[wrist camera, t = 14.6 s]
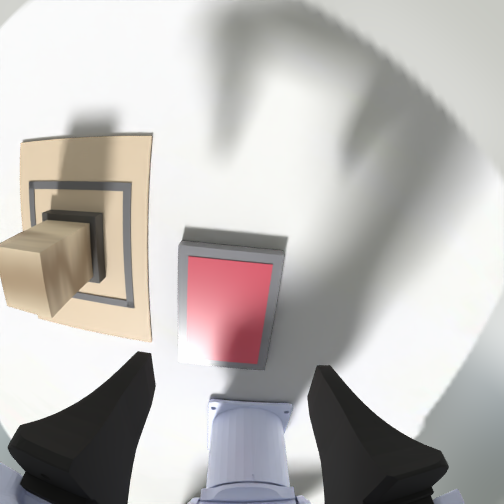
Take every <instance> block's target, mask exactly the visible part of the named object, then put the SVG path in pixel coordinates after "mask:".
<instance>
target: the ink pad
mask: <svg viewBox="0 0 504 504" xmlns="http://www.w3.org/2000/svg"><path fill="white" fill-rule="evenodd" d="M284 257H285V255H284V252H283V250H273V249H263V248H253V247H243V246H233V245H222V244H212V243H202V242H192V241H181V242H180V244H179V248H178V349H179V362H183V363H191V364H199V365H208V366H217V367H228V368H240V369H254V370H265V366H266V361H267V355H268V350H269V345H270V339H271V334H272V328H273V322H274V317H275V311H276V305H277V300H278V294H279V288H280V282H281V276H282V269H283V263H284Z"/></svg>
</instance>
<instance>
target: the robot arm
mask: <svg viewBox="0 0 504 504" xmlns="http://www.w3.org/2000/svg"><path fill="white" fill-rule="evenodd" d="M155 387H156V385H155V378H154V371H153V364H152V356H151V353H145V352H139V351H138V352H137V353H136V354H135V355H133V356H132V357H131V358H130V359H129V360H128V361H127V362H126V363H125V364H124V365H123V366H122V367H121V368H120V369H119V370H118V371H117V372H116V373H115V374H114V375H113V376H111V377H110V378H109V379H108V380H107V381H106V382H105V383H103V384H102V385H101V386H100V387H98V388H97V389H96V390H95V391H93V392H92V393H91V394H89V395H88V396H86V397H85V398H83V399H82V400H80V401H79V402H77V403H75V404H74V405H72V406H70V407H68V408H66V409H64V410H62V411H60V412H58V413H56V414H53V415H51V416H48V417H46V418H43V419H40V420H37V421H34V422H30V423H27V424H23V425H20V426H19V428H18V429H17V431H16V433H15V434H14V436H13V438H12V440H11V441H10V443H9V445H8V450H9V452H10V454H11V455H12V457H13V458H14V459H15V460H16V461H17V463H18V464H19V465H20V466H21V467H22V468H23V469H24V470H25V474H24V476H22V475H21V474H19V473H18V472H16V471H14V470H13V469H11V468H10V467H8V466H6V465H4V464H3V463H1V462H0V504H127V503H128V494H129V486H130V479H131V473H132V467H133V462H134V457H135V453H136V448H137V445H138V442H139V439H140V436H141V433H142V430H143V428H144V425H145V422H146V419H147V416H148V414H149V411H150V408H151V405H152V401H153V396H154V391H155ZM307 397H308V407H309V415H310V420H311V424H312V428H313V431H314V435H315V439H316V443H317V447H318V451H319V455H320V460H321V466H322V475H323V485H324V498H325V504H465V503H464V500H463V498H462V496H461V494H460V492H459V489H455V490H452V491H450V492H448V493H446V494H444V495H441V496H439V497H437V498H435V499H434V500H432V498H431V495H432V494H433V493H434V491H433V489H432V486H433V485H434V484H435V483H436V482H437V481H438V480H440V479H441V478H442V477H443V476H444V474H445V473H446V472H447V470H448V468H449V466H448V464H447V462H446V460H445V458H444V456H443V454H442V452H441V451H440V450H437V449H434V448H432V447H429V446H427V445H424V444H422V443H420V442H418V441H416V440H414V439H412V438H410V437H408V436H406V435H404V434H403V433H401V432H399V431H398V430H396V429H395V428H393V427H392V426H390V425H389V424H387V423H386V422H385V421H384V420H382V419H381V418H380V417H378V416H377V415H376V414H375V413H374V412H373V411H371V410H370V409H369V408H368V407H367V406H366V405H365V404H364V403H363V402H362V401H361V400H360V399H359V398H358V397H357V396H356V395H355V394H354V393H353V392H352V390H351V389H350V388H349V387H348V386H347V385H346V384H345V382H344V381H343V380H342V379H341V378H340V377H339V375H338V374H337V373H336V372H335V371H334V369H333V368H332V367H331V366H330V365H319V366H317V367H316V370H315V374H314V377H313V380H312V384H311V387H310V390H309V393H308V396H307ZM292 409H293V406H292V404H290V403H262V402H244V401H230V400H219V399H211V400H209V403H208V450H209V461H208V472H207V484H206V488H202V489H201V497H200V498H196V497H194V498H192V499H191V501H190V502H188V503H187V504H311V503H310V501H309V500H307V499H306V498H305V497H304V496H302V495H300V496H295V493H294V487H290V480H289V472H288V464H287V456H286V447H285V439H284V433H285V430H286V427H287V424H288V421H289V418H290V415H291V412H292Z"/></svg>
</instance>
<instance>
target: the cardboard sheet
mask: <svg viewBox="0 0 504 504" xmlns="http://www.w3.org/2000/svg"><path fill="white" fill-rule="evenodd" d="M151 145H152V136H100V137H79V138H64V139H52V140H42V141H32V142H24V143H21V147H20V199H21V215H22V227H23V231H25V230H27V229H29V228H31V227H33V226H35V225H37V224H39V223H41V222H42V213H43V212H45V211H48V210H50V209H52V210H69V211H84V212H99V213H103V238H104V257H105V271H106V277H105V279H104V280H103V281H102V282H101V283H100V284H99V283H93V282H87V283H86V284H85V285H84V286H83V287H82V288H81V289H80V290H79V291H78V292H77V293H76V294H75V295H74V296H73V297H72V298H71V299H70V300H69V301H68V302H67V303H66V304H65V305H64V306H63V307H62V308H61V309H60V310H59V311H58V312H57V313H56V315H55V316H54V317H53V318H48V317H44V316H40V315H38V318H39V319H43V320H47V321H50V322H54V323H58V324H62V325H66V326H70V327H74V328H79V329H83V330H88V331H92V332H97V333H102V334H107V335H112V336H117V337H122V338H127V339H133V340H139V341H145V342H152V337H151V325H150V310H149V290H148V249H147V233H148V192H149V173H150V158H151Z"/></svg>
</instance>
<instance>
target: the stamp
mask: <svg viewBox="0 0 504 504" xmlns="http://www.w3.org/2000/svg"><path fill="white" fill-rule="evenodd" d="M0 277H1V281H2V286H3V290H4V294H5V298H6V302H7V306H9V307H13V308H16V309H19V310H23V311H26V312H29V313H33V314H37V315H40V316H44V317H48V318H53V317H54V316H55V315H56V313H57V312H58V311H59V310H60V309H61V308H62V307H63V306H64V305H65V304H66V303H67V302H68V301H69V300H70V299H71V298H72V297H73V296H74V295H75V294H76V293H77V292H78V291H79V290H80V289H81V288H82V287H83V286H84V285H85V284H86V283H87V282H93V283H99V284H100V283H101V282H102V281H103V280H104V279H105V277H106V271H105V257H104V238H103V213H99V212H84V211H69V210H52V209H50V210H48V211H45V212H43V213H42V222H41V223H39V224H37V225H35V226H33V227H31V228H29V229H27V230H25V231H23V232H21V233H19V234H17V235H15V236H13V237H11V238H9V239H7V240H5V241H3V242H1V243H0Z"/></svg>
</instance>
